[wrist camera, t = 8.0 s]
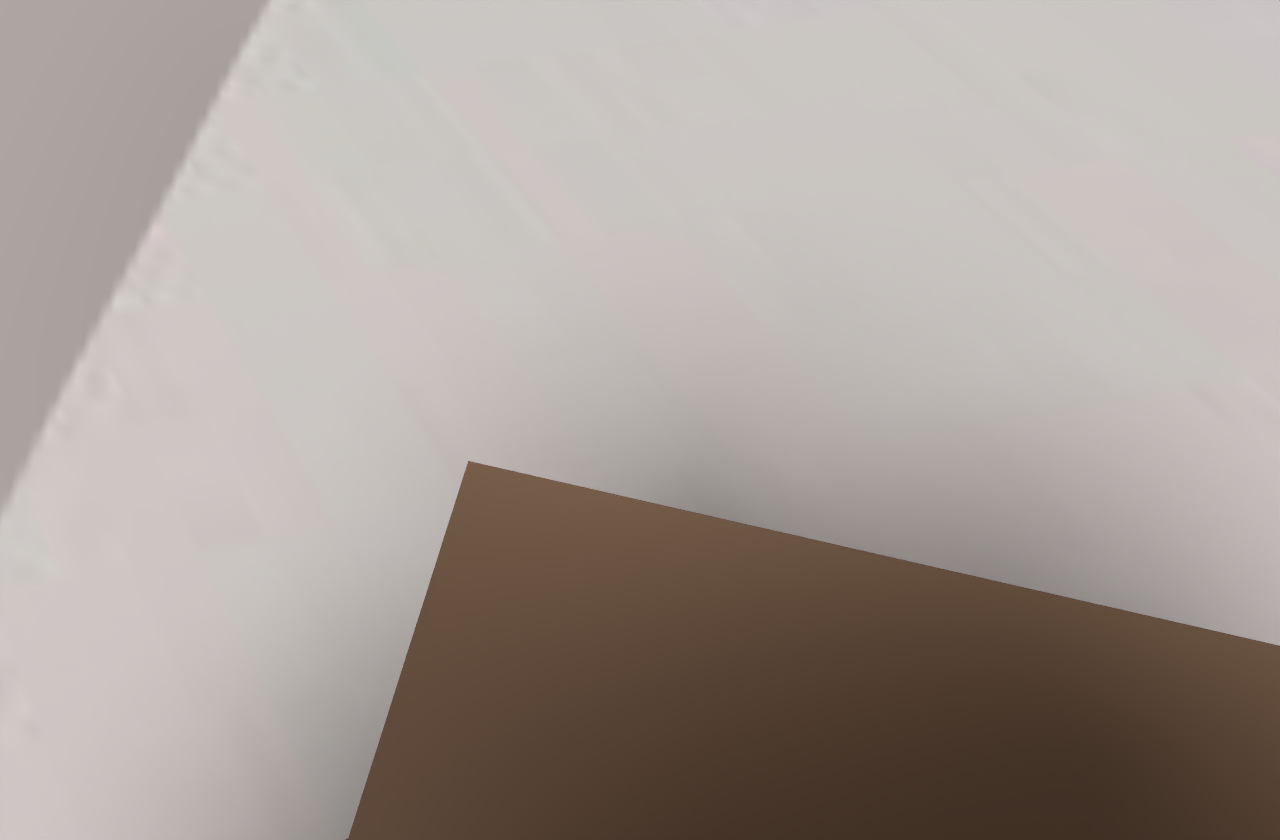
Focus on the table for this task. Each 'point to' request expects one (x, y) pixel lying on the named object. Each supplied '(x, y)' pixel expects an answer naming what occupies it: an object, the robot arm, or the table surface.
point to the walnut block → (794, 693)
